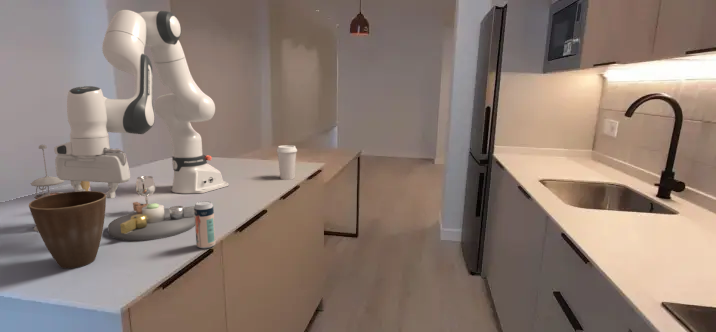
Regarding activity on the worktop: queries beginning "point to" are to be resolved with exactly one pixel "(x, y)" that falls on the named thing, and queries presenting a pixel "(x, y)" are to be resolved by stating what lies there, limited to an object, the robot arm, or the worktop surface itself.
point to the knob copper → (138, 207)
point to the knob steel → (181, 212)
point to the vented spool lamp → (45, 182)
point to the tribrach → (152, 225)
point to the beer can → (204, 224)
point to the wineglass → (145, 186)
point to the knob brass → (134, 223)
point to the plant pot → (71, 225)
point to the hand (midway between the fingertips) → (95, 197)
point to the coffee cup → (287, 161)
